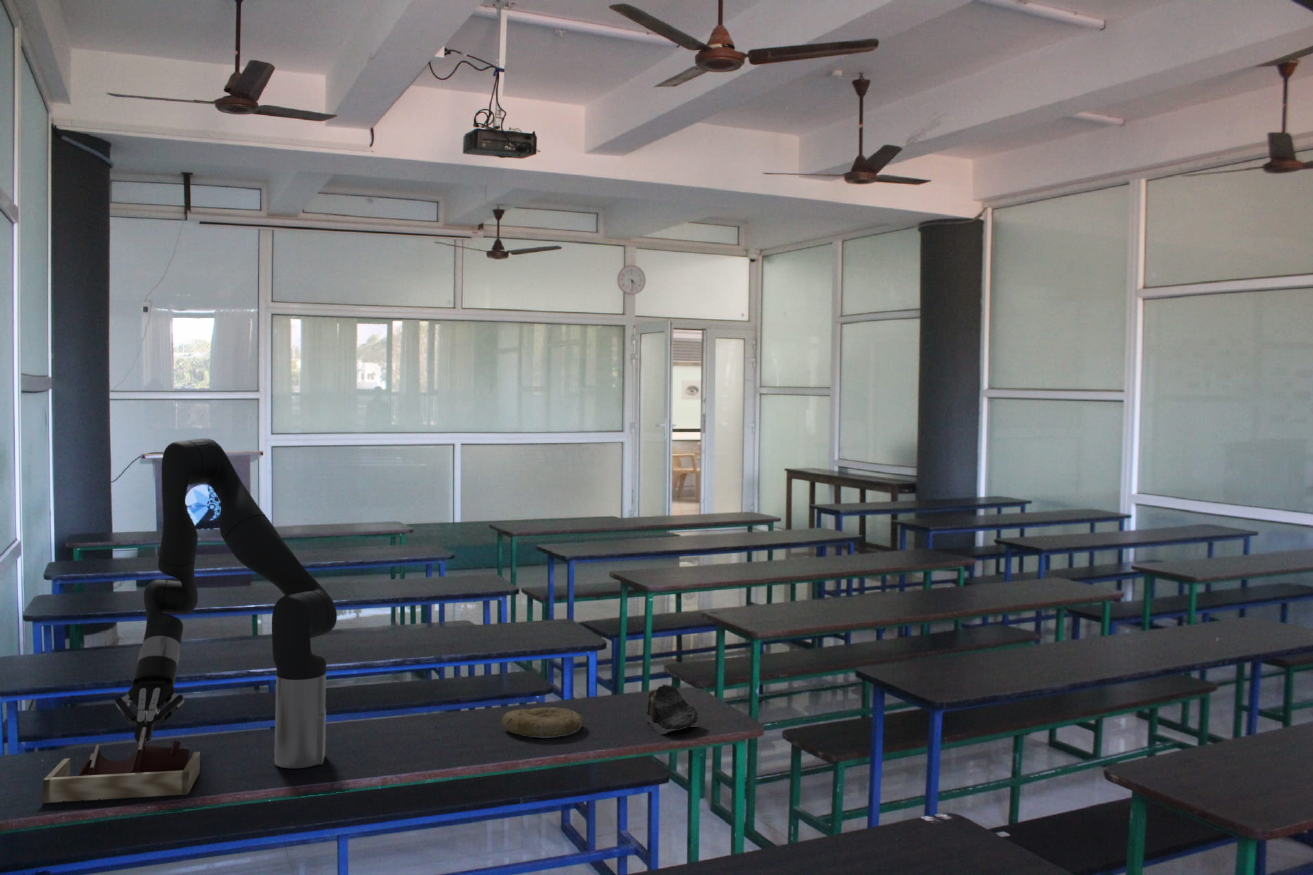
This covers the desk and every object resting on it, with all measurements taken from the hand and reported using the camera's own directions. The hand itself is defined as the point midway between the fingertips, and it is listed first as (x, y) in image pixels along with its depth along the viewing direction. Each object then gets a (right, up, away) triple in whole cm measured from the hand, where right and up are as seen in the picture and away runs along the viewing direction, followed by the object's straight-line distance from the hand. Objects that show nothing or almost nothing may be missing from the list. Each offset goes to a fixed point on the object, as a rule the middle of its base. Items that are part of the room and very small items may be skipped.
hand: (142, 742), depth 194 cm
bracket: (+4, -5, -11) cm, 13 cm away
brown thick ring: (+75, -6, +28) cm, 80 cm away
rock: (+103, -7, +33) cm, 108 cm away
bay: (+3, -4, -12) cm, 13 cm away
